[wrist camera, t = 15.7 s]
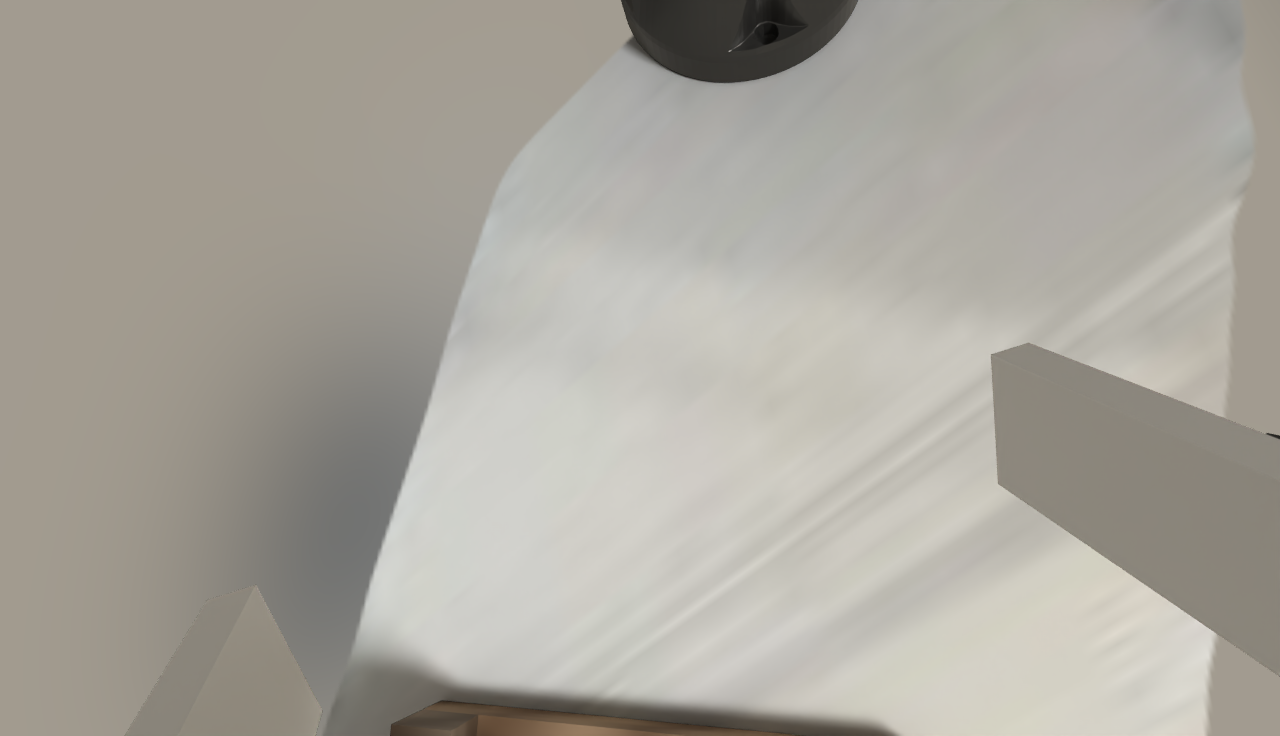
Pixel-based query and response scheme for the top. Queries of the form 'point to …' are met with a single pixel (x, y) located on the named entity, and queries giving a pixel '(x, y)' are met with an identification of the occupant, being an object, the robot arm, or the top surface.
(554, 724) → the brown u-shaped block
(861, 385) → the top surface
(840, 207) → the top surface
